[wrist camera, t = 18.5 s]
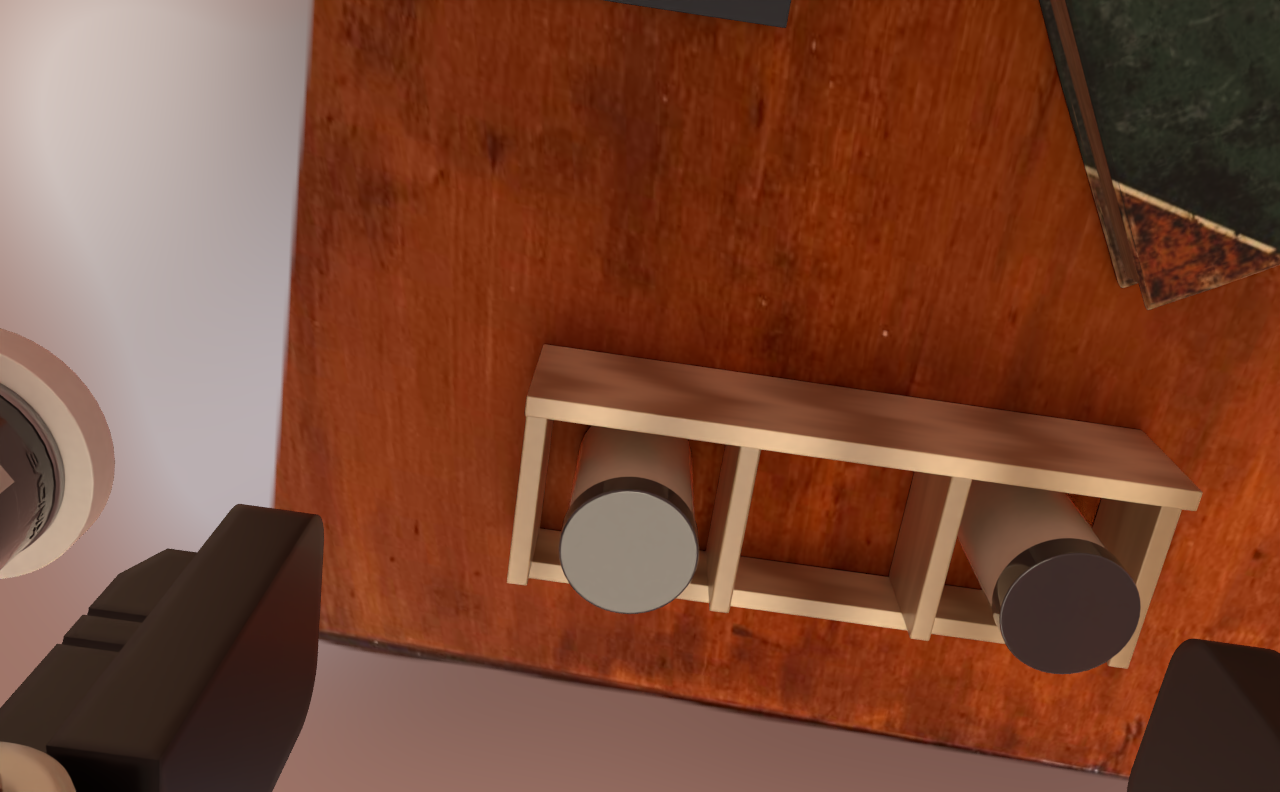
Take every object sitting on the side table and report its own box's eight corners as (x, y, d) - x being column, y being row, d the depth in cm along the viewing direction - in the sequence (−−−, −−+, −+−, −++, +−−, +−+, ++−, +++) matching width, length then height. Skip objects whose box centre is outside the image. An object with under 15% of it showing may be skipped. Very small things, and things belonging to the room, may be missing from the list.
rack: (519, 541, 51) (500, 614, 46) (543, 343, 48) (526, 395, 42) (1081, 620, 52) (1131, 701, 46) (1142, 429, 49) (1203, 492, 43)
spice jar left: (568, 505, 51) (550, 604, 43) (583, 396, 49) (567, 480, 41) (684, 521, 51) (687, 623, 43) (703, 414, 49) (709, 500, 41)
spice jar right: (937, 557, 51) (984, 664, 43) (965, 451, 49) (1019, 544, 42) (1051, 573, 51) (1118, 683, 44) (1083, 468, 49) (1159, 563, 42)
